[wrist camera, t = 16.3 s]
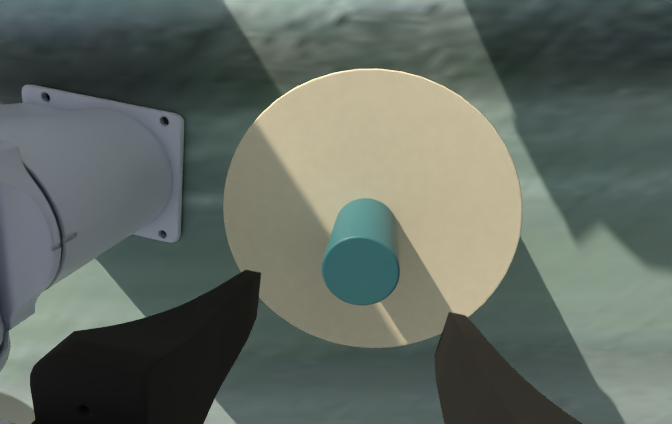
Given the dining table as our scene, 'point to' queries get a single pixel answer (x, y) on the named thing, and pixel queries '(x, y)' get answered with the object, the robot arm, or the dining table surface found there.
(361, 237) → the tub lid
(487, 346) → the robot arm
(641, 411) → the dining table surface
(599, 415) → the dining table surface
